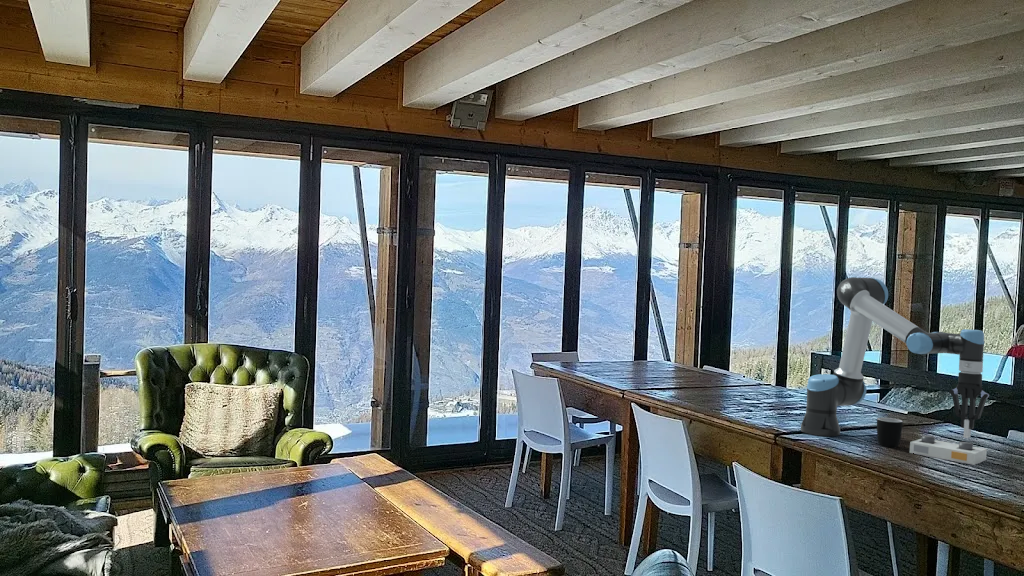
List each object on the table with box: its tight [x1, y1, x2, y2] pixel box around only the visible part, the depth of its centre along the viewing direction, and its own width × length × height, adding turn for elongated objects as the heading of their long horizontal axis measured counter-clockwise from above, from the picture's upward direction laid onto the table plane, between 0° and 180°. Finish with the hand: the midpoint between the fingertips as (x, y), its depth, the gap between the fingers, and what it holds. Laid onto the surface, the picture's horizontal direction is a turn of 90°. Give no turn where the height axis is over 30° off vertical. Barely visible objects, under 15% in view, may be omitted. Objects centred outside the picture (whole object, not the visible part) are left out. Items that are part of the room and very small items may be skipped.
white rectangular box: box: [909, 438, 988, 466], centre depth 310 cm, size 22×13×4 cm, turn 44°
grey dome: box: [958, 441, 974, 451], centre depth 305 cm, size 4×4×3 cm
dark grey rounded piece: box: [921, 434, 936, 444], centre depth 315 cm, size 4×4×3 cm
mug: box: [876, 417, 903, 449], centre depth 325 cm, size 12×9×10 cm
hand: (966, 437), depth 305 cm, fingers closed
